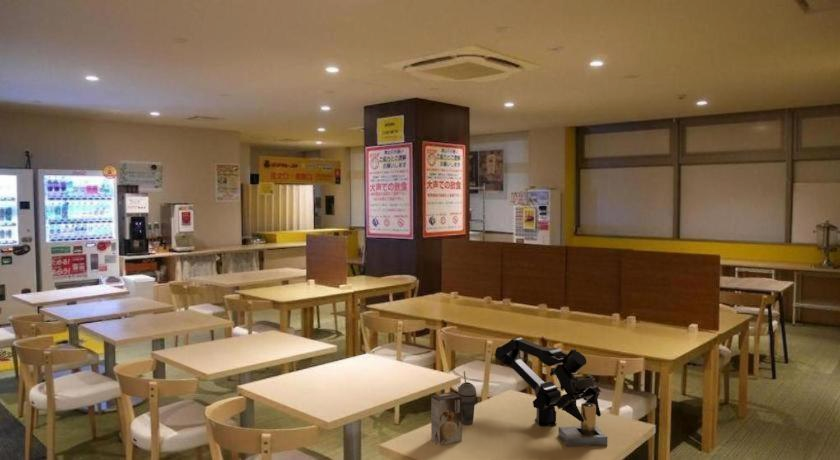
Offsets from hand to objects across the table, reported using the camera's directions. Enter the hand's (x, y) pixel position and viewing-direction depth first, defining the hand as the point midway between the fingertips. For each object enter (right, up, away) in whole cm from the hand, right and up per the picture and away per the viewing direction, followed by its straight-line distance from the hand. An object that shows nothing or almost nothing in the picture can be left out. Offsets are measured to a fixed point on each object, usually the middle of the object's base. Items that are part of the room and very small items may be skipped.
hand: (591, 418), depth 210 cm
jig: (-3, -8, +1) cm, 9 cm away
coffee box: (-51, -8, +1) cm, 52 cm away
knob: (-1, -8, +2) cm, 8 cm away
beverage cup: (-43, -7, +16) cm, 46 cm away
